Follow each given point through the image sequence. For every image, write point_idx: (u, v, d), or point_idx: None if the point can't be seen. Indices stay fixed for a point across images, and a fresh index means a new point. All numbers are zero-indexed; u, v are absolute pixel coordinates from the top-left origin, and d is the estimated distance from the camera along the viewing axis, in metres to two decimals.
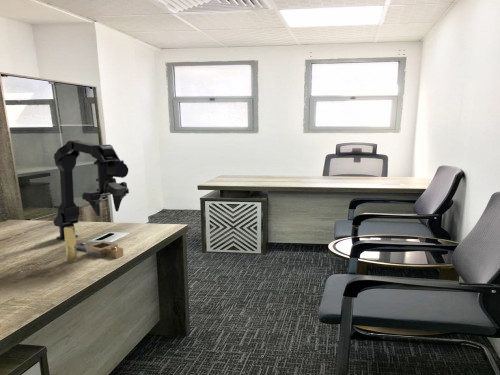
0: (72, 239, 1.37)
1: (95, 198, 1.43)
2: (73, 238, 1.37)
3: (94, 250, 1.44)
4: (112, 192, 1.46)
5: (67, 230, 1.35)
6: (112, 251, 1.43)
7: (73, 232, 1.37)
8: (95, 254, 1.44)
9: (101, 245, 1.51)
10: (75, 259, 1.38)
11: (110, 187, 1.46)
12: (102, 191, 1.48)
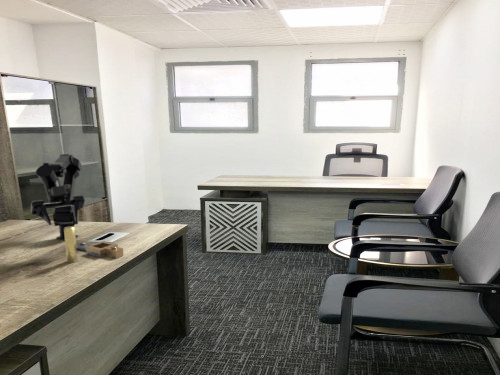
0: (72, 239, 1.37)
1: (37, 203, 1.39)
2: (73, 238, 1.37)
3: (94, 250, 1.44)
4: (52, 193, 1.41)
5: (67, 230, 1.35)
6: (112, 251, 1.43)
7: (73, 232, 1.37)
8: (95, 254, 1.44)
9: (101, 245, 1.51)
10: (75, 259, 1.38)
11: (51, 190, 1.43)
12: (50, 201, 1.45)
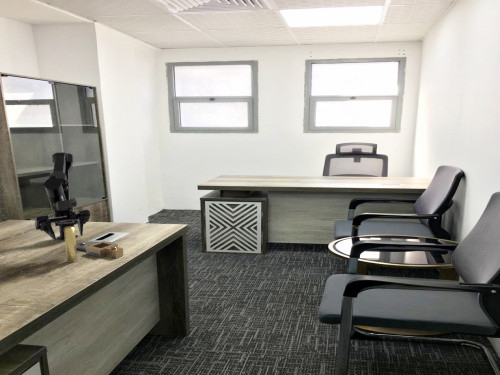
0: (72, 239, 1.37)
1: (41, 218, 1.35)
2: (73, 238, 1.37)
3: (94, 250, 1.44)
4: (57, 207, 1.37)
5: (67, 230, 1.35)
6: (112, 251, 1.43)
7: (73, 232, 1.37)
8: (95, 254, 1.44)
9: (101, 245, 1.51)
10: (75, 259, 1.38)
11: (56, 204, 1.38)
12: (55, 216, 1.40)
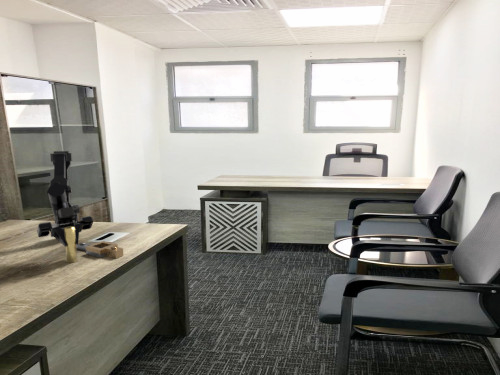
0: (72, 239, 1.37)
1: (44, 226, 1.33)
2: (73, 238, 1.37)
3: (94, 250, 1.44)
4: (60, 214, 1.35)
5: (67, 230, 1.35)
6: (112, 251, 1.43)
7: (73, 232, 1.37)
8: (95, 254, 1.44)
9: (101, 245, 1.51)
10: (75, 259, 1.38)
11: (58, 212, 1.37)
12: None
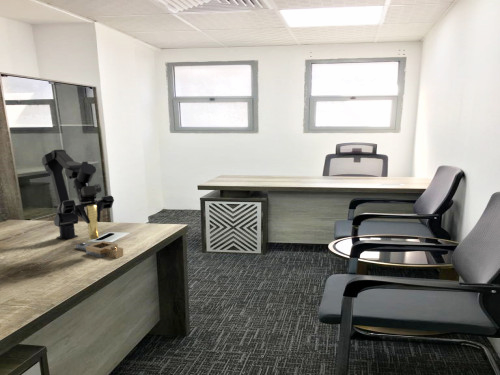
0: (94, 217, 1.42)
1: (68, 203, 1.39)
2: (95, 216, 1.43)
3: (94, 250, 1.44)
4: (83, 192, 1.41)
5: (89, 208, 1.41)
6: (112, 251, 1.43)
7: (95, 210, 1.43)
8: (95, 254, 1.44)
9: (101, 245, 1.51)
10: (97, 236, 1.44)
11: (81, 190, 1.43)
12: None
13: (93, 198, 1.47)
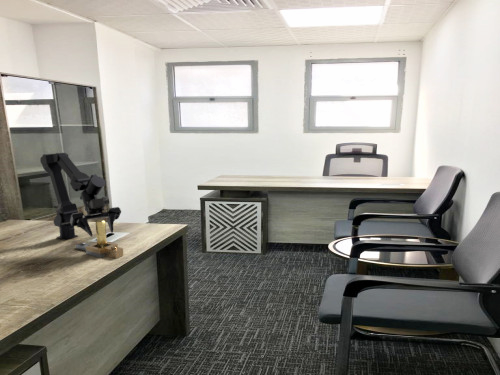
0: (103, 232, 1.46)
1: (77, 216, 1.42)
2: (103, 231, 1.46)
3: (94, 250, 1.44)
4: (92, 205, 1.44)
5: (99, 223, 1.45)
6: (112, 251, 1.43)
7: (104, 225, 1.46)
8: (95, 254, 1.44)
9: None
10: None
11: (90, 202, 1.46)
12: (88, 213, 1.48)
13: (101, 210, 1.50)
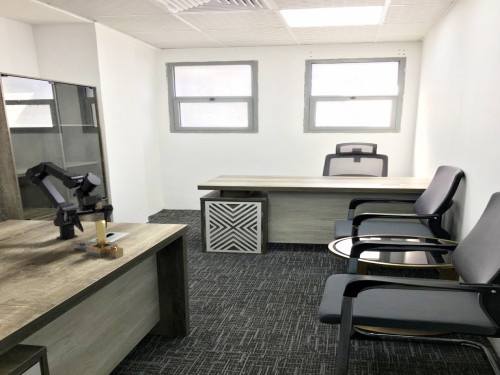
0: (103, 232, 1.46)
1: (70, 212, 1.49)
2: (103, 231, 1.46)
3: (94, 250, 1.44)
4: (85, 202, 1.51)
5: (98, 223, 1.45)
6: (112, 251, 1.43)
7: (104, 225, 1.46)
8: (95, 254, 1.44)
9: None
10: None
11: (83, 199, 1.52)
12: (82, 210, 1.54)
13: (94, 207, 1.56)
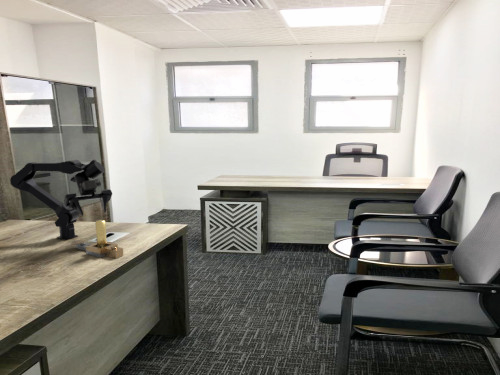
0: (103, 232, 1.46)
1: (70, 196, 1.53)
2: (103, 231, 1.46)
3: (94, 250, 1.44)
4: (84, 186, 1.55)
5: (99, 223, 1.45)
6: (112, 251, 1.43)
7: (104, 225, 1.46)
8: (95, 254, 1.44)
9: None
10: None
11: (82, 184, 1.56)
12: (81, 194, 1.58)
13: (93, 192, 1.60)
